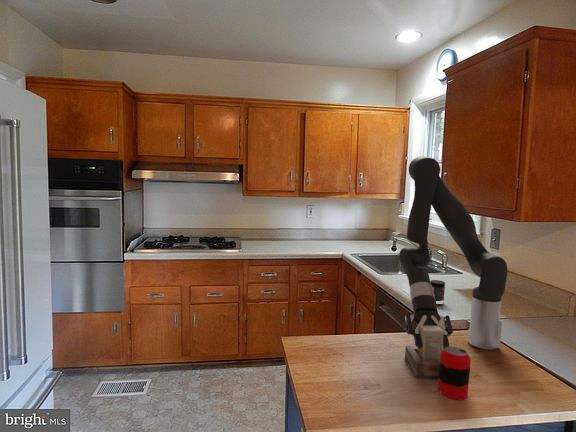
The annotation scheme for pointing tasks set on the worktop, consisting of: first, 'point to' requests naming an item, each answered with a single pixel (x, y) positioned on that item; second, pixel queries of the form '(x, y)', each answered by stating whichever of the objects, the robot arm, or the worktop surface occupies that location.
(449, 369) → the soda can
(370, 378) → the worktop surface
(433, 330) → the skincare box
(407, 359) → the walnut holder block
